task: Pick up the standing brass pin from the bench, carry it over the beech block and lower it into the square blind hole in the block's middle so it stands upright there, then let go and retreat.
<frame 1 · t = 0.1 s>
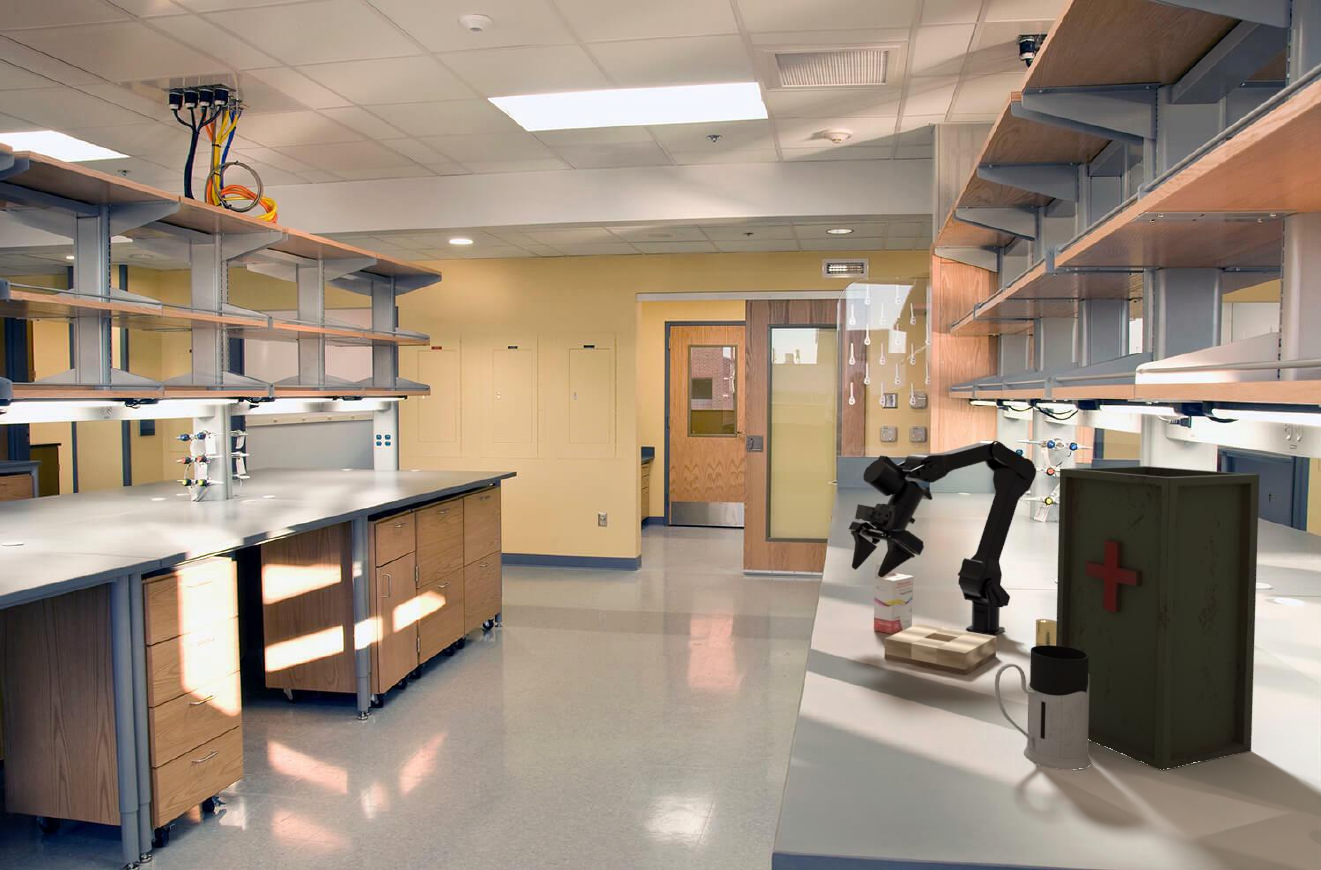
hand: (866, 572, 187), 15 cm above the worktop, tool tilted 35°, fingers open, 9 cm apart
ink cartridge box: (893, 630, 200), on the worktop
glass holder: (1039, 760, 127), on the worktop
first aid box: (1149, 739, 136), on the worktop
bore block: (940, 657, 178), on the worktop
pin: (1045, 668, 171), on the worktop
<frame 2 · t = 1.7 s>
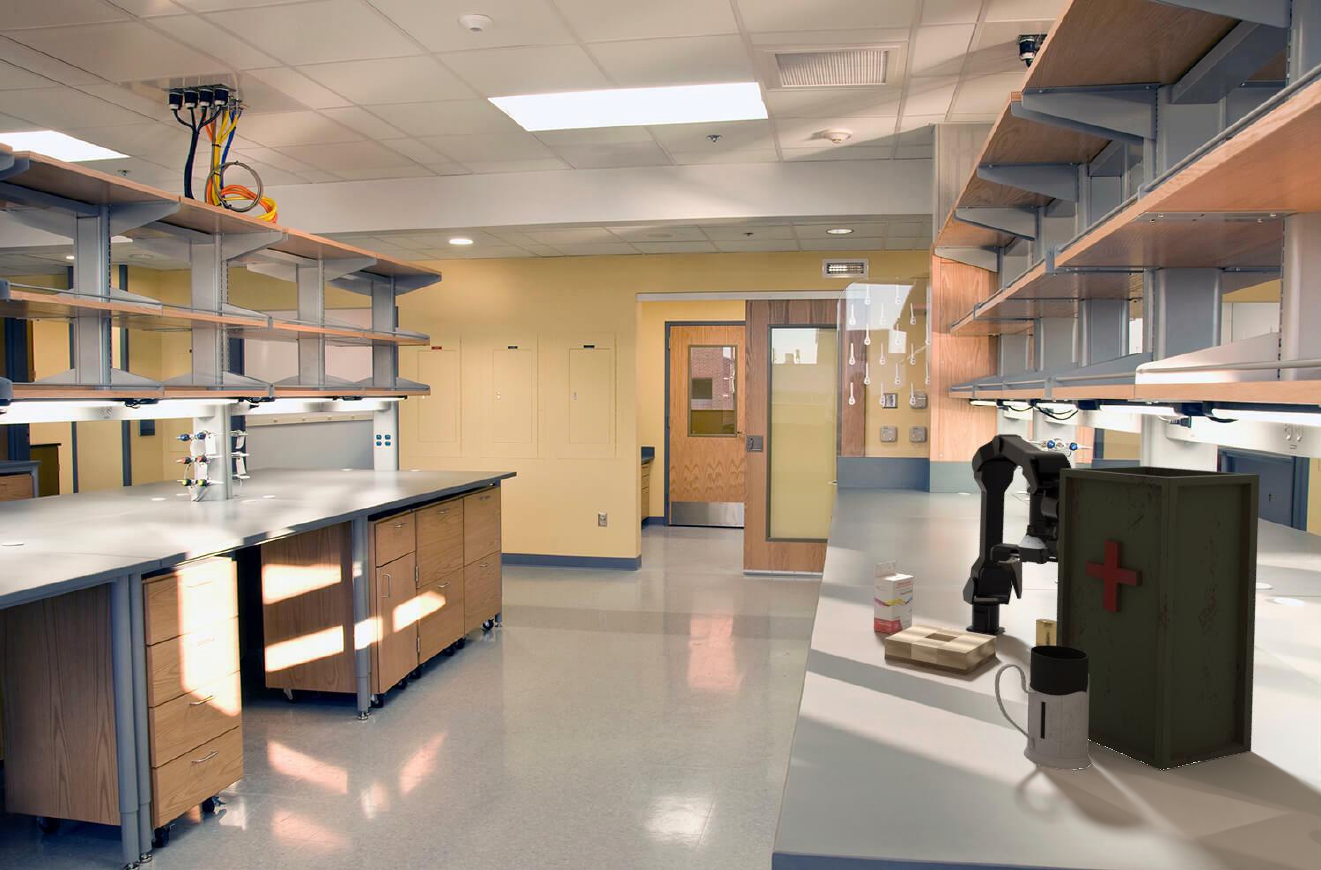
hand: (1044, 602, 171), 13 cm above the worktop, tool pointing down, fingers open, 9 cm apart
nothing on the worktop moved.
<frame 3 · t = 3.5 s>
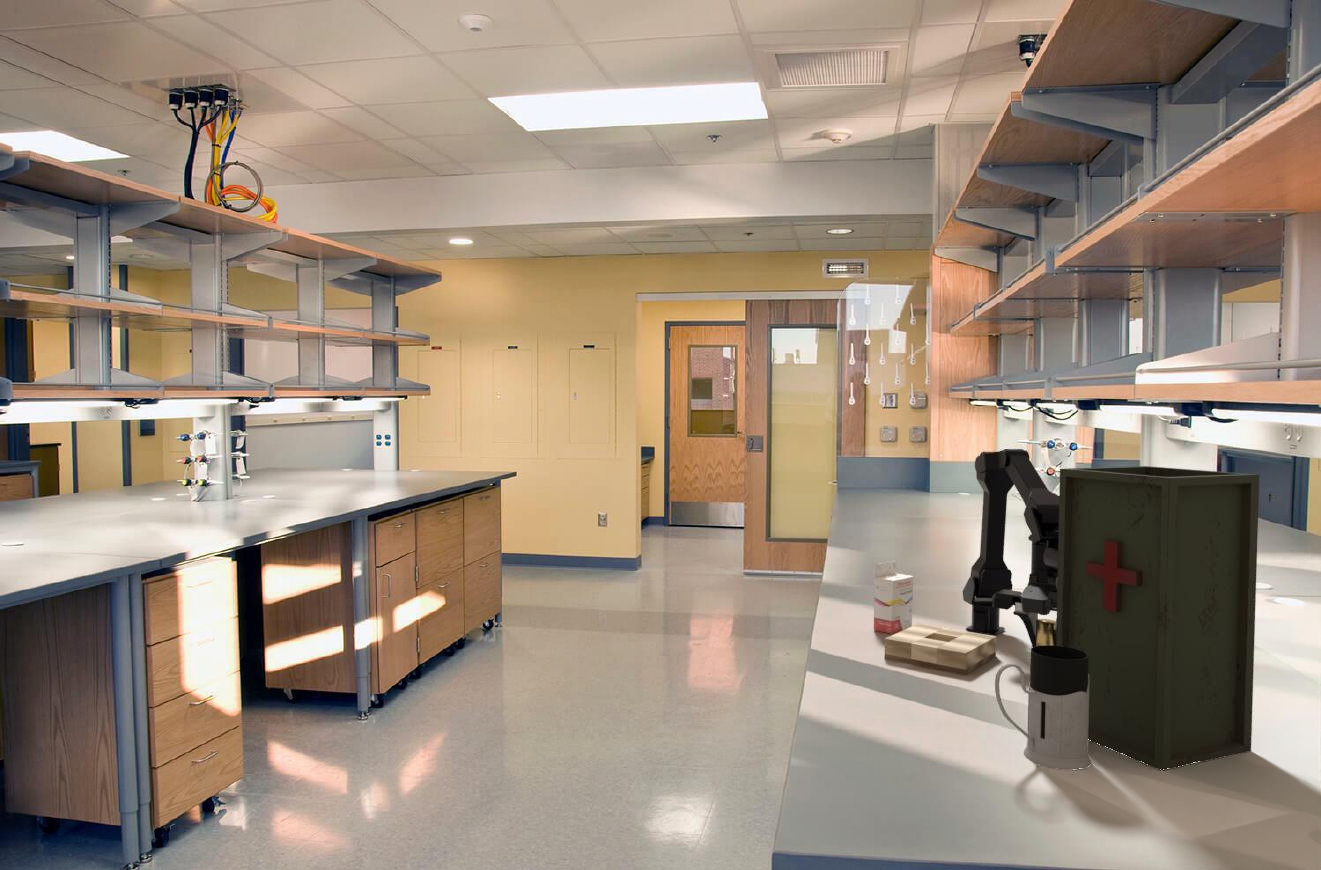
hand: (1045, 650, 171), 3 cm above the worktop, tool pointing down, fingers closed on pin, 4 cm apart
pin: (1045, 668, 171), on the worktop, touching gripper
everything else where it was.
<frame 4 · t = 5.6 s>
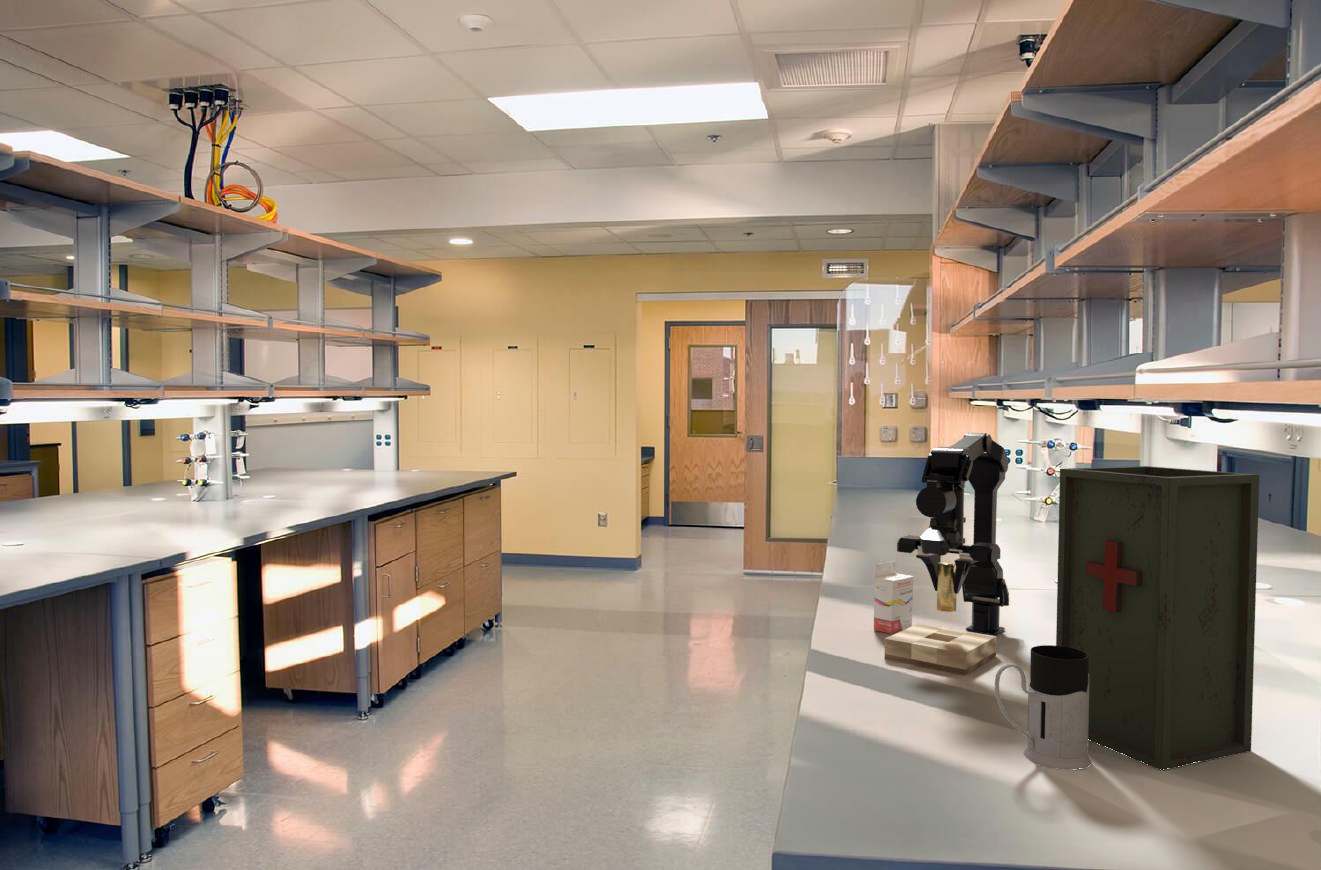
hand: (946, 592, 177), 13 cm above the worktop, tool pointing down, fingers closed on pin, 4 cm apart
pin: (946, 609, 177), point 10 cm above the worktop, touching gripper
everything else where it was.
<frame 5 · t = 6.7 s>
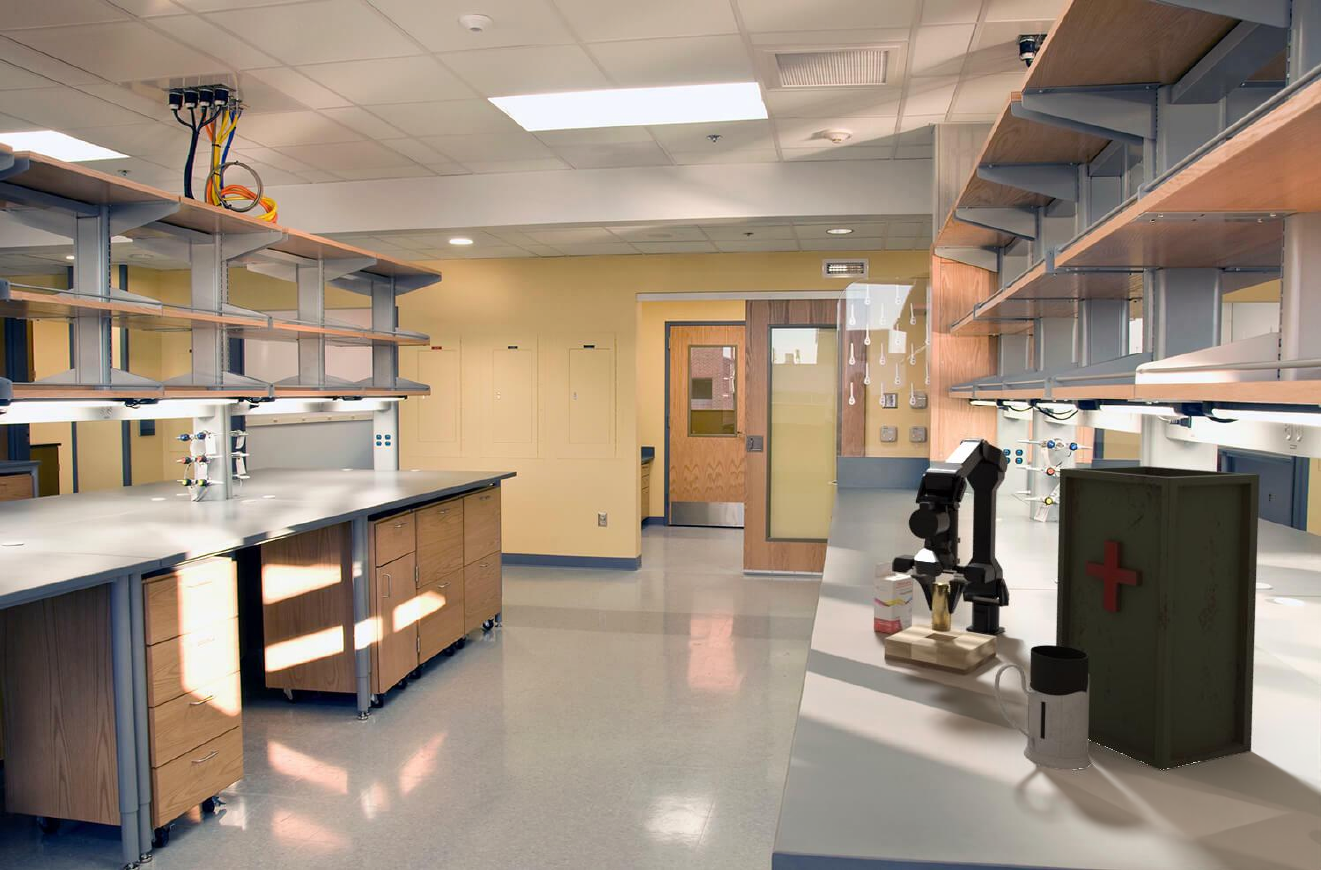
hand: (941, 612, 178), 9 cm above the worktop, tool pointing down, fingers closed on pin, 4 cm apart
pin: (941, 629, 178), point 6 cm above the worktop, touching gripper
everything else where it was.
when the fingers open (5 cm above the worktop, at t = 7.8 s): pin drops 1 cm, resting on bore block.
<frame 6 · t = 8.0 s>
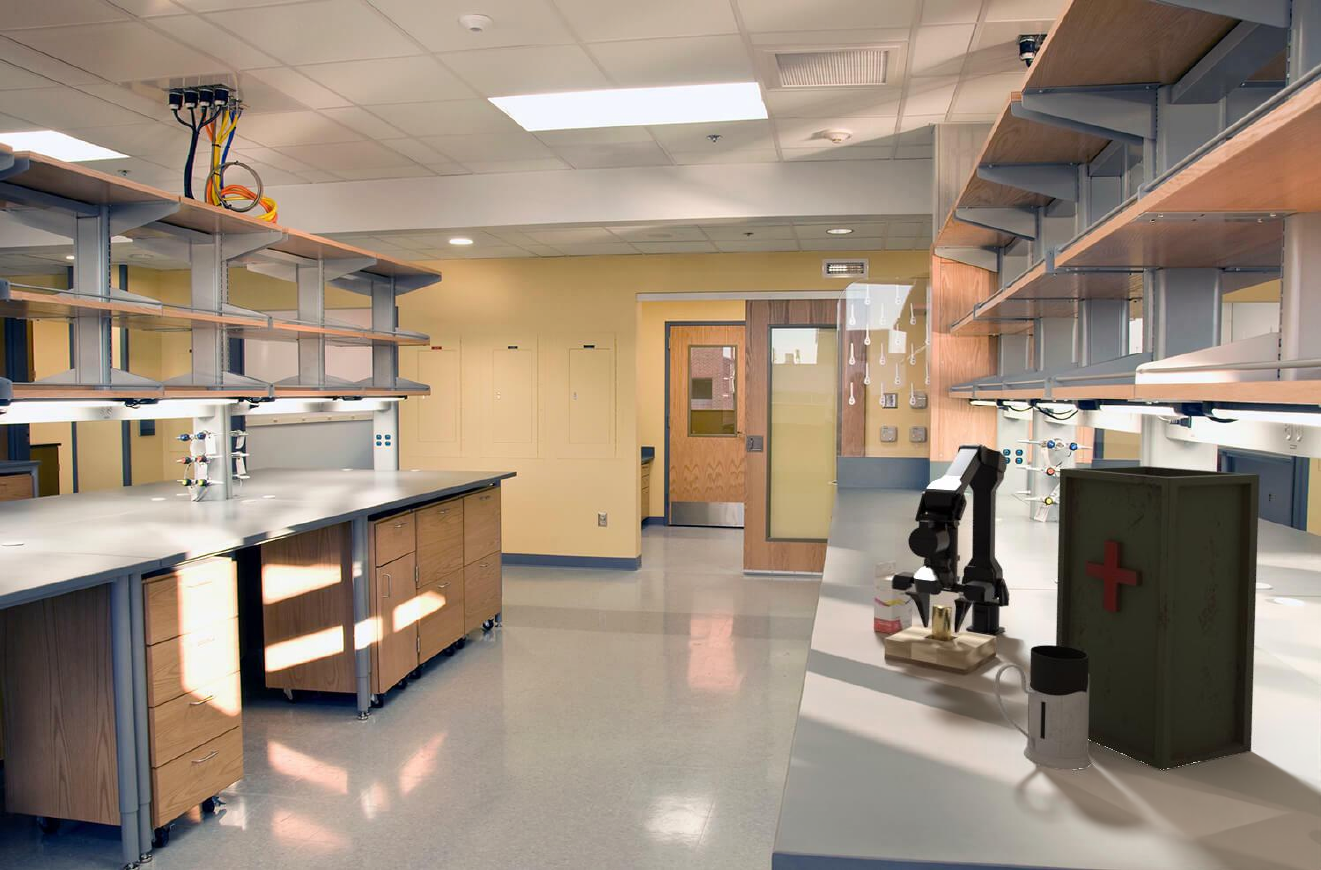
hand: (941, 629, 178), 5 cm above the worktop, tool pointing down, fingers open, 6 cm apart
pin: (940, 652, 178), point 1 cm above the worktop, touching bore block
everything else where it was.
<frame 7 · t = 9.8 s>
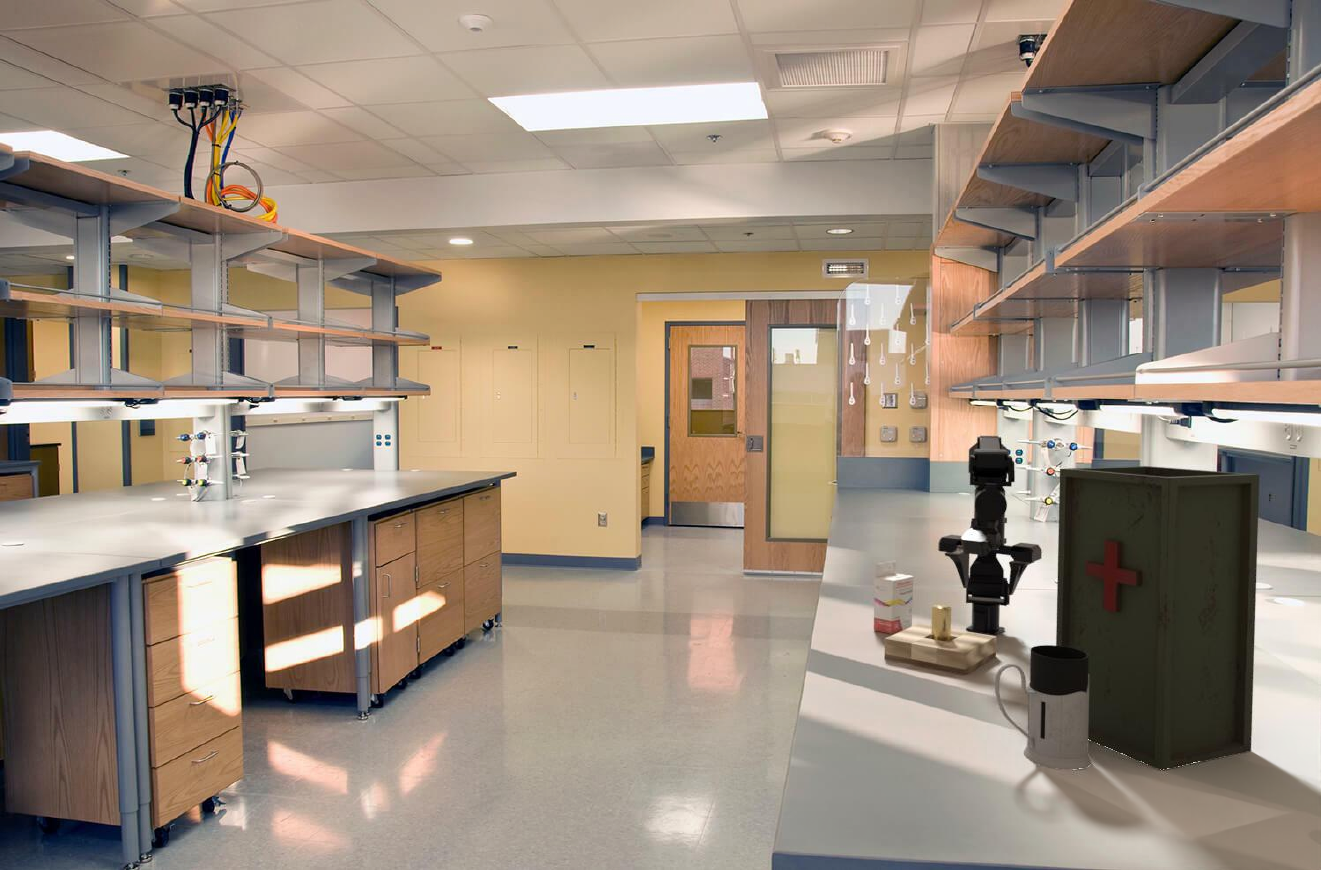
hand: (987, 591, 180), 13 cm above the worktop, tool pointing down, fingers open, 9 cm apart
nothing on the worktop moved.
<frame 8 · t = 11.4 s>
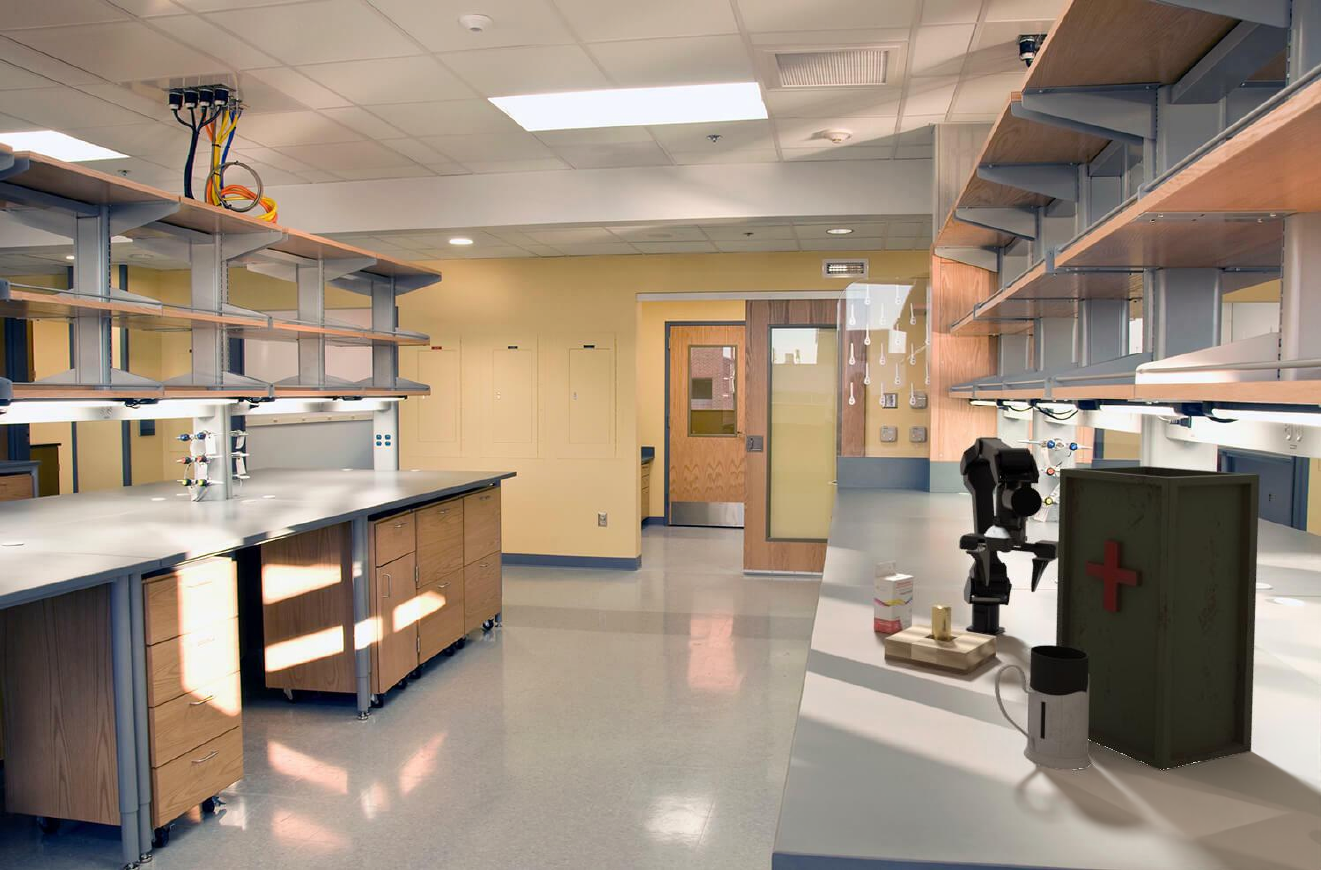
hand: (1009, 588, 181), 13 cm above the worktop, tool pointing down, fingers open, 9 cm apart
nothing on the worktop moved.
at the end: pin 0.0 cm off-centre on the bore block, point 1.0 cm above the bore block's base; pin tilted 0°; the gripper is holding nothing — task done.
